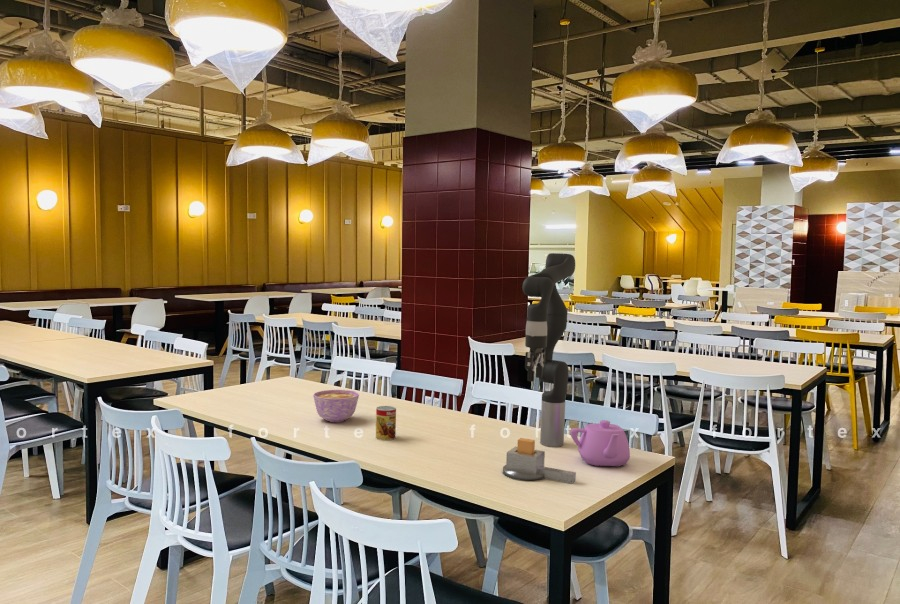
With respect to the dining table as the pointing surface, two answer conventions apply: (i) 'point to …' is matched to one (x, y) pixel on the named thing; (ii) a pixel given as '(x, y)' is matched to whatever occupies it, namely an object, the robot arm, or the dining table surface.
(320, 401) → the bowl of food
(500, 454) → the dining table surface
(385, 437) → the canned food
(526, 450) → the orange block
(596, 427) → the teapot
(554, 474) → the bracket
